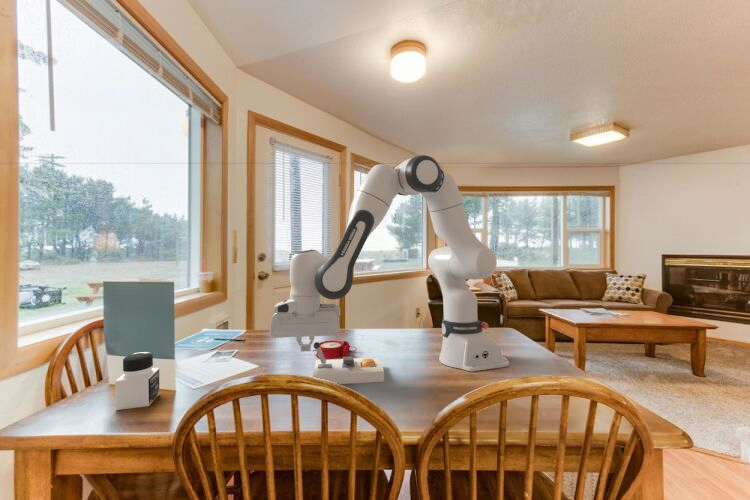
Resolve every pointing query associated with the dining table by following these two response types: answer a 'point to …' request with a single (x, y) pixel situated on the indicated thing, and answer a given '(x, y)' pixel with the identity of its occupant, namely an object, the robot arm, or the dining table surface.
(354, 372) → the panel
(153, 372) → the medicine bottle
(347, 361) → the rocker
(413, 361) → the dining table surface
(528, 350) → the dining table surface
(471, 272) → the robot arm
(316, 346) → the lever
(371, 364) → the button
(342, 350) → the alarm clock
